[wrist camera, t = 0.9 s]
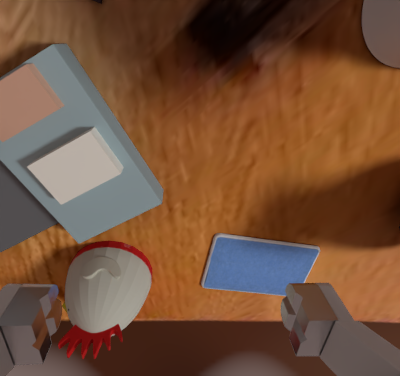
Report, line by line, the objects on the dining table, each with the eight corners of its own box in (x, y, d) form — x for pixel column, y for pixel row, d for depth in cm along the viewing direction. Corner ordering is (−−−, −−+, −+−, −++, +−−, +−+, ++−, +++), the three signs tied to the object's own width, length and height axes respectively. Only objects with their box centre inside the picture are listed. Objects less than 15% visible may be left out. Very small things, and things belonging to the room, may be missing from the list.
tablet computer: (199, 283, 53) (200, 289, 52) (214, 230, 47) (215, 234, 46) (295, 293, 56) (297, 298, 54) (319, 243, 50) (323, 248, 49)
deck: (66, 43, 33) (52, 44, 29) (163, 189, 42) (162, 203, 39) (-26, 101, 35) (-49, 108, 31) (86, 227, 45) (79, 243, 41)
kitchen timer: (66, 239, 45) (20, 321, 32) (152, 241, 47) (141, 321, 34) (76, 299, 52) (41, 388, 39) (151, 299, 53) (142, 385, 40)
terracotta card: (33, 63, 30) (26, 64, 28) (64, 105, 32) (59, 108, 31) (-24, 99, 31) (-34, 102, 30) (9, 138, 33) (2, 142, 32)
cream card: (94, 126, 33) (90, 131, 31) (123, 167, 36) (120, 173, 34) (34, 160, 35) (26, 166, 33) (66, 197, 37) (61, 204, 36)
